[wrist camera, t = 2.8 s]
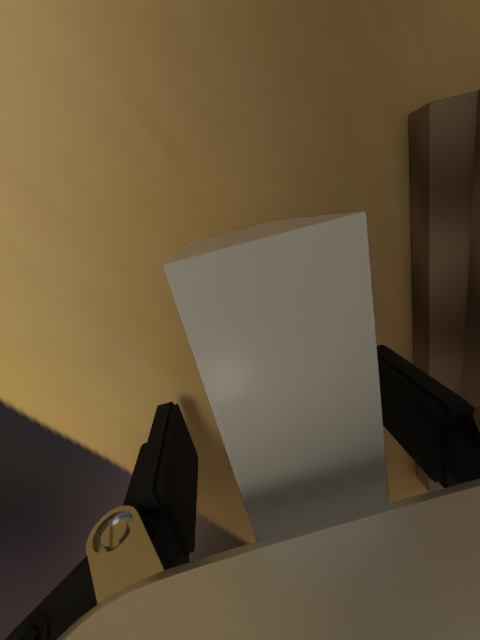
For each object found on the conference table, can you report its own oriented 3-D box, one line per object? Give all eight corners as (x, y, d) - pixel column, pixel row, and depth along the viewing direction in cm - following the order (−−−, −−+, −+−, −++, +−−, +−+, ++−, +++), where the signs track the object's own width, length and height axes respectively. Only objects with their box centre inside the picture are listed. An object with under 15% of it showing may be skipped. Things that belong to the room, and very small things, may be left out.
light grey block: (189, 242, 11) (162, 264, 4) (272, 220, 11) (365, 211, 5) (262, 486, 16) (301, 670, 9) (320, 469, 16) (400, 641, 9)
